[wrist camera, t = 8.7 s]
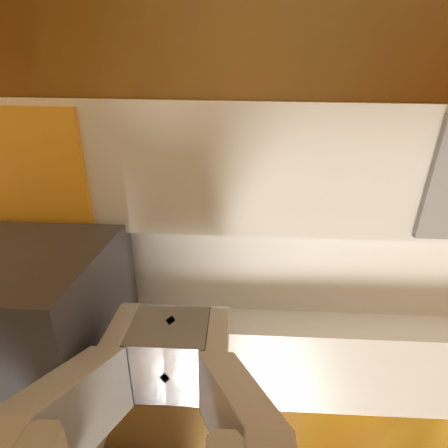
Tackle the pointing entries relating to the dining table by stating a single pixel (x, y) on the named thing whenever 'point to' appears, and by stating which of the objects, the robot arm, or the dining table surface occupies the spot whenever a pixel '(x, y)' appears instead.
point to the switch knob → (58, 294)
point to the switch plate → (266, 229)
